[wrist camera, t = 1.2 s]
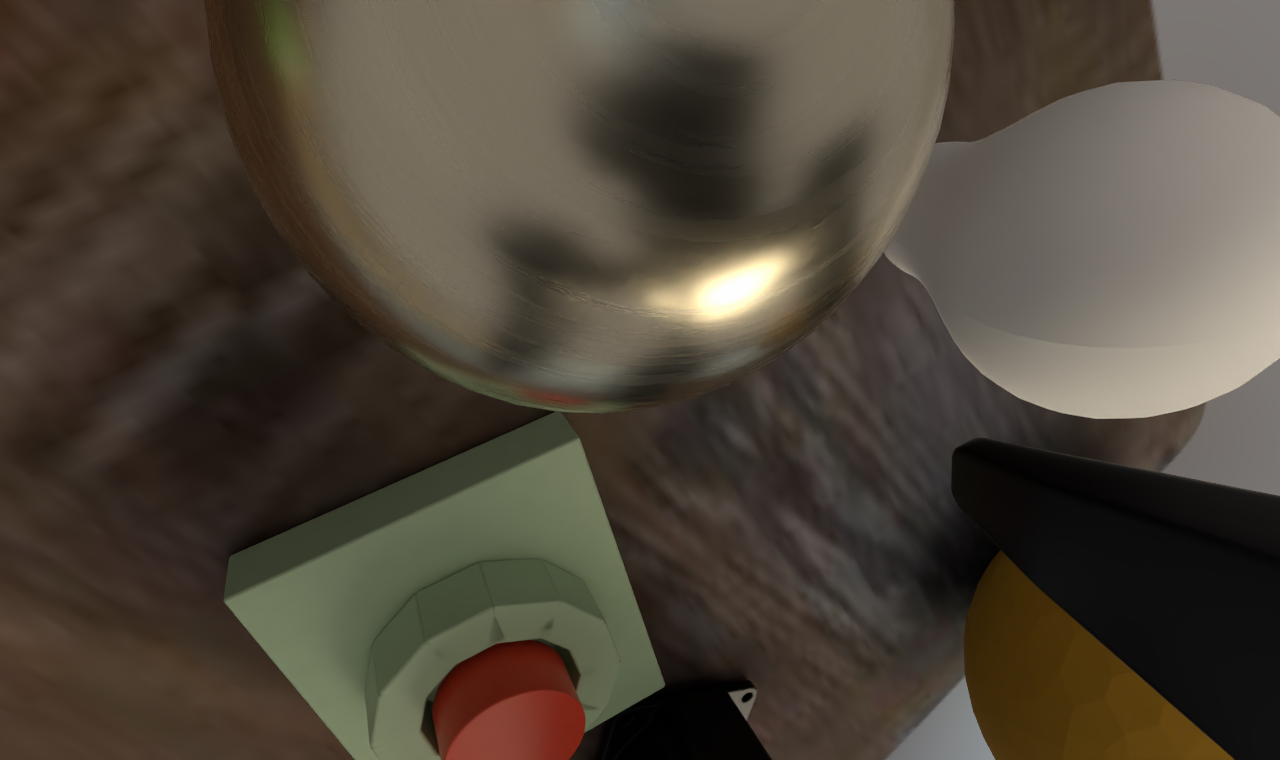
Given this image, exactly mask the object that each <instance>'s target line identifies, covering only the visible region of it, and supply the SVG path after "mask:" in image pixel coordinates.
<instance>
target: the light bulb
mask: <svg viewBox="0 0 1280 760" xmlns="http://www.w3.org/2000/svg"><path fill="white" fill-rule="evenodd" d="M883 254H885V255H886V257H887V258H888V260H889V261H891V262H892V263H893V264H894V265H896V266H897V267H898V268H899V269H901V270H902V271H904V272H906V273H908V274H910V275H912V276H914V277H915V278H917V279H918V280H919V281H920V282H921V283H922V284H923V286H924V287H925V288H926V290H927V291H928V293H929V295H930V297H931V298H932V300H933V302H934V304H935V306H936V308H937V310H938V312H939V314H940V316H941V318H942V320H943V322H944V324H945V326H946V328H947V330H948V331H949V333H950V335H951V337H952V339H953V341H954V342H955V343H956V345H957V346H958V348H959V349H960V350H961V352H962V353H963V355H964V356H965V357H966V358H967V359H968V360H969V361H970V362H971V363H972V364H973V365H974V366H975V367H976V368H977V369H978V370H979V371H980V372H981V373H982V374H983V375H985V376H986V377H987V378H989V379H990V380H991V381H993V382H994V383H996V384H997V385H999V386H1000V387H1002V388H1004V389H1005V390H1007V391H1008V392H1010V393H1011V394H1013V395H1015V396H1016V397H1018V398H1020V399H1022V400H1025V401H1028V402H1030V403H1033V404H1036V405H1038V406H1041V407H1044V408H1046V409H1049V410H1053V411H1057V412H1060V413H1064V414H1070V415H1076V416H1082V417H1088V418H1094V419H1114V418H1144V417H1151V416H1156V415H1161V414H1166V413H1171V412H1176V411H1180V410H1184V409H1187V408H1191V407H1194V406H1197V405H1199V404H1202V403H1204V402H1207V401H1209V400H1211V399H1214V398H1216V397H1218V396H1221V395H1223V394H1226V393H1228V392H1230V391H1232V390H1234V389H1236V388H1238V387H1239V386H1241V385H1243V384H1244V383H1246V382H1247V381H1248V380H1250V379H1251V378H1253V377H1254V376H1256V375H1257V374H1258V373H1260V372H1261V371H1263V370H1264V369H1265V368H1267V367H1268V366H1270V365H1271V364H1272V363H1274V362H1275V361H1276V360H1278V359H1279V358H1280V117H1279V116H1277V115H1276V114H1275V113H1273V112H1272V111H1271V110H1269V109H1268V108H1267V107H1265V106H1264V105H1261V104H1258V103H1256V102H1254V101H1251V100H1249V99H1246V98H1244V97H1241V96H1239V95H1236V94H1234V93H1231V92H1229V91H1226V90H1223V89H1220V88H1217V87H1214V86H1212V85H1205V84H1198V83H1192V82H1186V81H1179V80H1156V81H1137V82H1120V83H1113V84H1109V85H1105V86H1102V87H1098V88H1094V89H1090V90H1087V91H1083V92H1080V93H1077V94H1074V95H1071V96H1068V97H1065V98H1062V99H1060V100H1058V101H1056V102H1054V103H1052V104H1050V105H1048V106H1046V107H1044V108H1042V109H1040V110H1038V111H1036V112H1034V113H1032V114H1030V115H1028V116H1027V117H1025V118H1023V119H1021V120H1019V121H1017V122H1016V123H1014V124H1012V125H1010V126H1008V127H1006V128H1005V129H1003V130H1000V131H998V132H996V133H994V134H992V135H990V136H988V137H986V138H984V139H981V140H977V141H974V142H942V143H935V145H934V148H933V151H932V154H931V157H930V160H929V163H928V166H927V168H926V171H925V173H924V176H923V178H922V180H921V183H920V185H919V188H918V190H917V192H916V194H915V196H914V198H913V200H912V202H911V205H910V207H909V209H908V211H907V213H906V215H905V217H904V219H903V222H902V224H901V225H900V227H899V228H898V230H897V232H896V233H895V235H894V237H893V238H892V240H891V241H890V243H889V245H888V246H887V248H886V249H885V251H884V253H883Z"/></svg>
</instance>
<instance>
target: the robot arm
mask: <svg viewBox="0 0 1280 760" xmlns="http://www.w3.org/2000/svg"><path fill="white" fill-rule="evenodd" d="M951 489H952V494H953V497H954V499H955V501H956V502H957V504H958V505H959V506H960V507H961V508H962V509H963V510H964V512H965V513H966V514H967V515H968V516H969V517H970V518H971V519H972V520H973V521H974V522H975V523H976V524H977V525H978V526H979V527H980V528H981V529H982V531H983V532H984V533H985V534H986V535H987V536H988V537H989V538H990V539H991V540H992V541H993V542H994V543H995V544H996V545H997V546H998V547H999V548H1000V549H1001V551H1002V552H1003V553H1004V554H1005V555H1006V556H1007V557H1008V558H1009V559H1010V560H1011V561H1012V562H1013V563H1014V564H1015V565H1016V566H1017V567H1018V568H1019V569H1020V571H1021V572H1022V573H1023V574H1024V575H1025V576H1027V577H1028V578H1029V579H1030V580H1031V581H1032V582H1033V583H1034V584H1035V585H1036V586H1037V587H1038V588H1039V589H1040V590H1041V591H1042V592H1043V593H1044V594H1046V595H1047V596H1048V597H1049V598H1050V599H1051V600H1052V601H1054V602H1055V603H1056V604H1057V605H1058V606H1059V607H1060V608H1062V609H1063V610H1064V611H1065V612H1066V613H1067V614H1068V615H1070V616H1071V617H1072V618H1073V619H1074V620H1075V621H1076V622H1078V623H1079V624H1080V625H1081V626H1082V627H1083V628H1084V629H1086V630H1087V631H1088V632H1089V633H1090V634H1091V635H1092V636H1094V637H1095V638H1096V639H1097V640H1098V641H1099V642H1100V643H1102V644H1103V645H1104V646H1105V647H1106V648H1107V649H1108V650H1110V651H1111V652H1112V653H1113V654H1114V655H1115V656H1116V657H1118V658H1119V659H1120V660H1121V661H1122V662H1123V663H1124V664H1126V665H1127V666H1128V667H1129V668H1130V669H1131V670H1132V671H1134V672H1135V673H1136V674H1137V675H1138V676H1139V677H1140V678H1142V679H1143V680H1144V681H1145V682H1146V683H1147V684H1148V685H1150V686H1151V687H1152V688H1153V689H1154V690H1155V691H1156V692H1158V693H1159V694H1160V695H1161V696H1162V697H1163V698H1164V699H1166V700H1167V701H1168V702H1169V703H1170V704H1171V705H1172V706H1174V707H1175V708H1176V709H1177V710H1178V711H1179V712H1180V713H1182V714H1183V715H1184V716H1185V717H1186V718H1187V719H1189V720H1190V721H1191V722H1192V723H1193V724H1194V725H1195V726H1197V727H1198V728H1199V729H1200V730H1201V731H1202V732H1203V733H1205V734H1206V735H1207V736H1208V737H1209V738H1210V739H1211V740H1213V741H1214V742H1215V743H1216V744H1217V745H1218V746H1219V747H1221V748H1222V749H1223V750H1224V751H1225V752H1226V753H1227V754H1229V755H1230V756H1231V757H1232V758H1233V759H1234V760H1280V496H1277V495H1271V494H1267V493H1262V492H1256V491H1251V490H1246V489H1240V488H1236V487H1231V486H1226V485H1221V484H1216V483H1211V482H1205V481H1201V480H1196V479H1191V478H1185V477H1180V476H1175V475H1170V474H1165V473H1160V472H1155V471H1150V470H1145V469H1140V468H1135V467H1130V466H1124V465H1119V464H1114V463H1109V462H1104V461H1099V460H1094V459H1089V458H1084V457H1079V456H1074V455H1069V454H1064V453H1058V452H1053V451H1048V450H1043V449H1038V448H1033V447H1028V446H1023V445H1018V444H1013V443H1008V442H1003V441H997V440H992V439H987V438H975V439H972V440H970V441H968V442H966V443H965V444H963V445H961V446H959V447H957V448H956V449H955V450H954V452H953V455H952V483H951ZM757 693H758V692H757V689H756V688H755V686H754V685H753V683H752V682H751V681H749V680H745V681H739V682H733V683H728V684H722V685H717V686H711V687H705V688H700V689H694V690H689V691H683V692H677V693H672V694H666V695H660V696H655V697H649V698H644V699H642V700H641V701H639V702H637V703H635V704H634V705H632V706H630V707H629V708H627V709H625V710H623V711H622V712H620V713H618V714H616V715H615V716H613V717H611V718H609V719H608V722H607V725H606V728H605V732H604V735H603V738H602V742H601V745H600V748H599V752H598V755H597V758H596V760H772V759H771V757H770V756H769V754H768V753H767V751H766V750H765V748H764V747H763V745H762V744H761V742H760V741H759V739H758V738H757V736H756V734H755V733H754V731H753V730H752V728H751V727H750V725H749V724H748V722H747V720H748V717H749V714H750V712H751V709H752V707H753V704H754V702H755V699H756V697H757Z"/></svg>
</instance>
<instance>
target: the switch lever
mask: <svg viewBox="0 0 1280 760" xmlns="http://www.w3.org/2000/svg"><path fill="white" fill-rule="evenodd" d="M204 1H205V10H206V18H207V27H208V35H209V44H210V53H211V60H212V65H213V70H214V76H215V80H216V84H217V87H218V91H219V95H220V99H221V103H222V107H223V111H224V115H225V118H226V122H227V126H228V130H229V133H230V135H231V138H232V140H233V143H234V145H235V148H236V150H237V153H238V155H239V158H240V160H241V163H242V165H243V167H244V170H245V172H246V175H247V177H248V180H249V182H250V184H251V186H252V188H253V190H254V191H255V193H256V195H257V197H258V198H259V200H260V202H261V204H262V206H263V207H264V209H265V211H266V213H267V214H268V216H269V218H270V220H271V222H272V223H273V225H274V227H275V229H276V230H277V232H278V233H279V235H280V236H281V237H282V239H283V240H284V241H285V243H286V244H287V245H288V247H289V248H290V249H291V251H292V252H293V253H294V255H295V256H296V257H297V259H298V260H299V262H300V263H301V264H302V266H303V267H304V268H305V270H306V271H307V272H308V274H309V275H310V276H311V277H312V278H313V279H314V280H315V281H316V282H317V283H318V284H319V285H320V286H321V287H322V288H323V289H324V291H325V292H326V293H327V294H328V295H329V296H330V297H331V298H332V299H333V300H334V301H335V302H336V303H337V304H338V305H339V306H340V307H341V308H342V309H343V310H344V311H345V312H346V313H347V314H348V315H349V316H350V317H352V318H353V319H354V320H355V321H357V322H358V323H359V324H360V325H362V326H363V327H364V328H365V329H367V330H368V331H369V332H370V333H371V334H373V335H374V336H375V337H376V338H378V339H379V340H380V341H381V342H383V343H384V344H385V345H386V346H388V347H390V348H391V349H393V350H394V351H396V352H398V353H399V354H401V355H403V356H404V357H406V358H407V359H409V360H411V361H412V362H414V363H416V364H417V365H419V366H420V367H422V368H424V369H425V370H427V371H429V372H431V373H433V374H435V375H437V376H440V377H442V378H444V379H446V380H448V381H451V382H453V383H455V384H457V385H459V386H462V387H464V388H466V389H468V390H470V391H473V392H476V393H480V394H483V395H486V396H489V397H493V398H496V399H499V400H502V401H506V402H509V403H512V404H516V405H522V406H528V407H533V408H539V409H545V410H551V411H557V412H579V413H609V412H619V411H629V410H640V409H646V408H652V407H656V406H661V405H665V404H669V403H673V402H678V401H682V400H686V399H690V398H695V397H697V396H700V395H702V394H705V393H708V392H710V391H713V390H715V389H718V388H721V387H723V386H726V385H728V384H731V383H733V382H735V381H737V380H739V379H741V378H742V377H744V376H746V375H748V374H750V373H752V372H753V371H755V370H757V369H759V368H761V367H763V366H764V365H766V364H768V363H770V362H771V361H773V360H774V359H776V358H777V357H779V356H781V355H782V354H784V353H785V352H786V351H788V350H789V349H790V348H792V347H793V346H794V345H796V344H797V343H799V342H800V341H801V340H803V339H804V338H805V337H807V336H808V335H809V334H811V333H812V332H813V331H815V330H816V329H817V328H818V327H819V326H820V325H821V324H822V323H823V322H824V321H825V320H826V319H827V318H828V317H829V316H830V315H831V314H832V313H833V312H835V311H836V310H837V309H838V308H839V307H840V306H841V305H842V304H843V303H844V301H845V300H846V299H847V298H848V297H849V295H850V294H851V293H852V292H853V291H854V289H855V288H856V287H857V286H858V284H859V283H860V282H861V281H862V280H863V278H864V277H865V276H866V275H867V273H868V272H869V271H870V270H871V268H872V267H873V266H874V265H875V264H876V262H877V261H878V260H879V259H880V257H881V256H882V254H883V253H884V251H885V249H886V248H887V246H888V245H889V243H890V241H891V240H892V238H893V237H894V235H895V233H896V232H897V230H898V228H899V227H900V225H901V224H902V222H903V219H904V217H905V215H906V213H907V211H908V209H909V207H910V205H911V202H912V200H913V198H914V196H915V194H916V192H917V190H918V188H919V185H920V183H921V180H922V178H923V176H924V173H925V171H926V168H927V166H928V163H929V160H930V157H931V154H932V151H933V148H934V145H935V142H936V139H937V136H938V133H939V130H940V126H941V122H942V117H943V113H944V108H945V104H946V99H947V94H948V90H949V82H950V73H951V64H952V55H953V46H954V28H955V0H204Z"/></svg>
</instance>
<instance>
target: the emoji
mask: <svg viewBox="0 0 1280 760" xmlns="http://www.w3.org/2000/svg"><path fill="white" fill-rule="evenodd" d="M964 663H965V677H966V682H967V686H968V691H969V695H970V699H971V704H972V708H973V712H974V714H975V716H976V719H977V722H978V724H979V727H980V729H981V732H982V734H983V737H984V739H985V741H986V743H987V745H988V746H989V748H990V750H991V752H992V754H993V756H994V758H995V760H1234V759H1233V758H1232V757H1231V756H1230V755H1229V754H1227V753H1226V752H1225V751H1224V750H1223V749H1222V748H1221V747H1219V746H1218V745H1217V744H1216V743H1215V742H1214V741H1213V740H1211V739H1210V738H1209V737H1208V736H1207V735H1206V734H1205V733H1203V732H1202V731H1201V730H1200V729H1199V728H1198V727H1197V726H1195V725H1194V724H1193V723H1192V722H1191V721H1190V720H1189V719H1187V718H1186V717H1185V716H1184V715H1183V714H1182V713H1180V712H1179V711H1178V710H1177V709H1176V708H1175V707H1174V706H1172V705H1171V704H1170V703H1169V702H1168V701H1167V700H1166V699H1164V698H1163V697H1162V696H1161V695H1160V694H1159V693H1158V692H1156V691H1155V690H1154V689H1153V688H1152V687H1151V686H1150V685H1148V684H1147V683H1146V682H1145V681H1144V680H1143V679H1142V678H1140V677H1139V676H1138V675H1137V674H1136V673H1135V672H1134V671H1132V670H1131V669H1130V668H1129V667H1128V666H1127V665H1126V664H1124V663H1123V662H1122V661H1121V660H1120V659H1119V658H1118V657H1116V656H1115V655H1114V654H1113V653H1112V652H1111V651H1110V650H1108V649H1107V648H1106V647H1105V646H1104V645H1103V644H1102V643H1100V642H1099V641H1098V640H1097V639H1096V638H1095V637H1094V636H1092V635H1091V634H1090V633H1089V632H1088V631H1087V630H1086V629H1084V628H1083V627H1082V626H1081V625H1080V624H1079V623H1078V622H1076V621H1075V620H1074V619H1073V618H1072V617H1071V616H1070V615H1068V614H1067V613H1066V612H1065V611H1064V610H1063V609H1062V608H1060V607H1059V606H1058V605H1057V604H1056V603H1055V602H1054V601H1052V600H1051V599H1050V598H1049V597H1048V596H1047V595H1046V594H1044V593H1043V592H1042V591H1041V590H1040V589H1039V588H1038V587H1037V586H1036V585H1035V584H1034V583H1033V582H1032V581H1031V580H1030V579H1029V578H1028V577H1027V576H1025V575H1024V574H1023V573H1022V572H1021V571H1020V569H1019V568H1018V567H1017V566H1016V565H1015V564H1014V563H1013V562H1012V561H1011V560H1010V559H1009V558H1008V557H1007V556H1006V555H1005V554H1004V553H1003V552H1002V551H1001V550H1000V551H999V552H998V554H997V555H996V556H995V557H994V558H993V560H992V561H991V562H990V564H989V565H988V567H987V569H986V571H985V572H984V574H983V576H982V578H981V579H980V581H979V583H978V585H977V588H976V591H975V594H974V597H973V600H972V603H971V606H970V609H969V612H968V615H967V619H966V627H965V636H964Z"/></svg>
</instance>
